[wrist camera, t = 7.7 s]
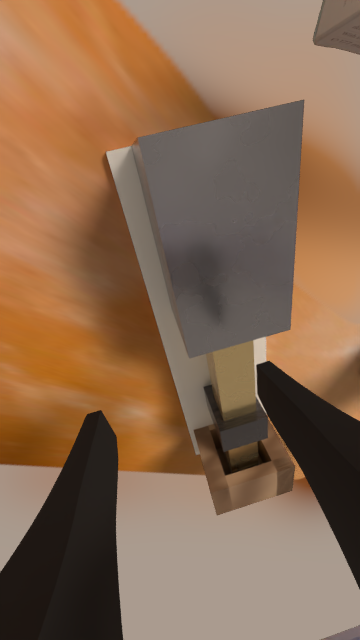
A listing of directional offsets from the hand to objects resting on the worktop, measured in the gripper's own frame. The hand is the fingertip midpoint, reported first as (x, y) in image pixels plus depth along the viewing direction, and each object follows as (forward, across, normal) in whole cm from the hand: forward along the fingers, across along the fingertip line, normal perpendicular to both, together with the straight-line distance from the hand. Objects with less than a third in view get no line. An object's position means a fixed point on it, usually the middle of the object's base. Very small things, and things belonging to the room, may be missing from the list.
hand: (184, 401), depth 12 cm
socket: (+9, -4, +18) cm, 21 cm away
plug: (+9, -4, +9) cm, 13 cm away
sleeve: (+9, -4, -5) cm, 11 cm away
